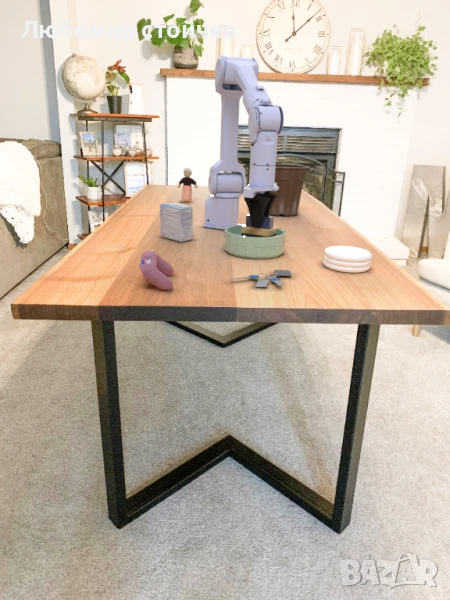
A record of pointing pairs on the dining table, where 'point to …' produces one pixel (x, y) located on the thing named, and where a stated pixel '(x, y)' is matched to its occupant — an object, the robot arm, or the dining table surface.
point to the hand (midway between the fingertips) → (258, 225)
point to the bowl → (253, 244)
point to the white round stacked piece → (347, 259)
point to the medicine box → (176, 221)
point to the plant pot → (288, 189)
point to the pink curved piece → (156, 270)
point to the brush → (263, 231)
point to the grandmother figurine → (187, 186)
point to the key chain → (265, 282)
